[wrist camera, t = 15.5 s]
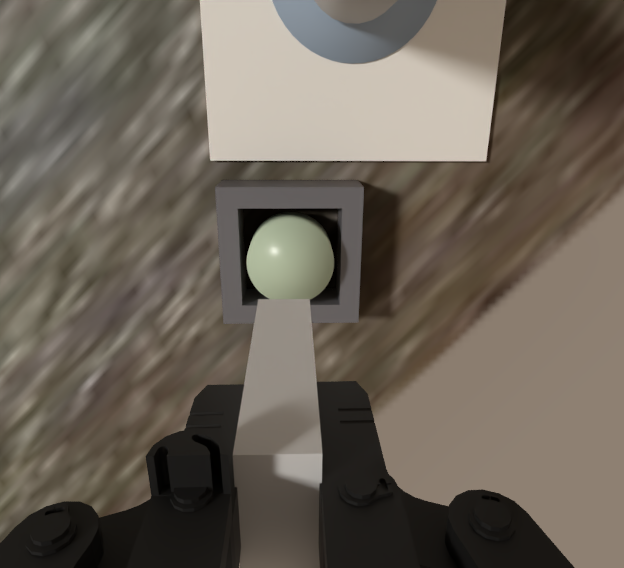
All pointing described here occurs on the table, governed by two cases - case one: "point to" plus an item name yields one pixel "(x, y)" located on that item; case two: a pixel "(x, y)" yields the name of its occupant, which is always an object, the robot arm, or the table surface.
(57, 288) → the table surface
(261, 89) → the paper sheet
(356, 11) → the beverage can
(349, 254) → the button housing
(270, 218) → the button
